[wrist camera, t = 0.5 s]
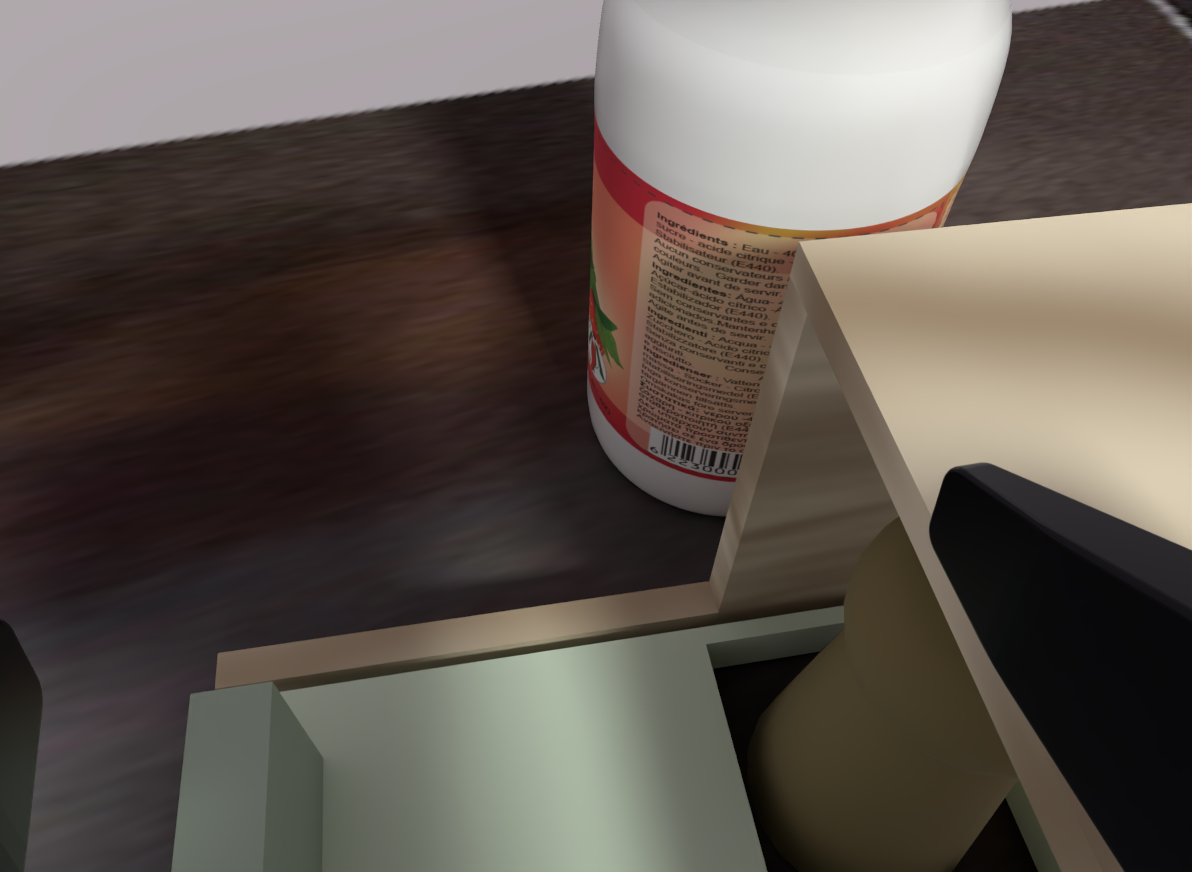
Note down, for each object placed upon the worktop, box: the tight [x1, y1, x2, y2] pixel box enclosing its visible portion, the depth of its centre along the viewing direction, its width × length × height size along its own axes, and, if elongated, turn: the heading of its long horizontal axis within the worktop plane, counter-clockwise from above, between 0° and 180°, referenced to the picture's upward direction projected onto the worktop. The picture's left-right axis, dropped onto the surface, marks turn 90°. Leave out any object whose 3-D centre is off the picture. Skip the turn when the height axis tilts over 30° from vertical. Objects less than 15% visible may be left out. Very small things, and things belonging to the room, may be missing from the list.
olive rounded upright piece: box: [747, 517, 1019, 872], centre depth 20 cm, size 6×6×11 cm
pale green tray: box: [171, 606, 1061, 872], centre depth 20 cm, size 8×20×7 cm, turn 100°
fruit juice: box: [587, 0, 1012, 517], centre depth 21 cm, size 9×9×28 cm
